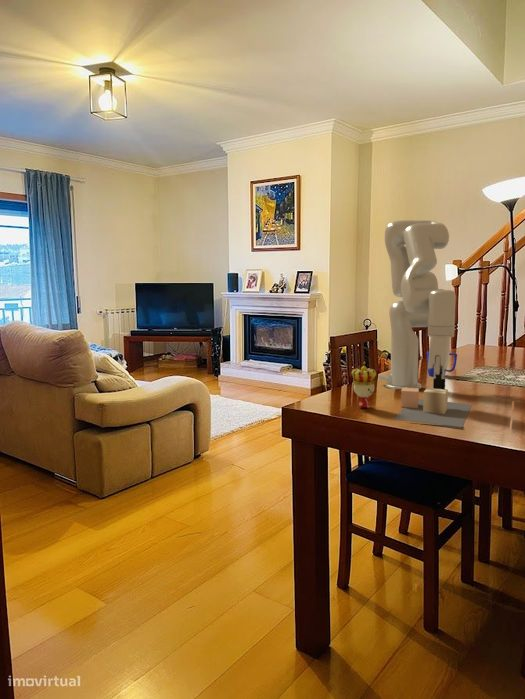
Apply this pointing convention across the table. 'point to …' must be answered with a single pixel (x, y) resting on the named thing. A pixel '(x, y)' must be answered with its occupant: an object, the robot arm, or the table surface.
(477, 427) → the table surface
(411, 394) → the terracotta block
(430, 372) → the mug
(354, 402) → the table surface
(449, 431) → the table surface
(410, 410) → the mat
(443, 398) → the maple block
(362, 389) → the toy
